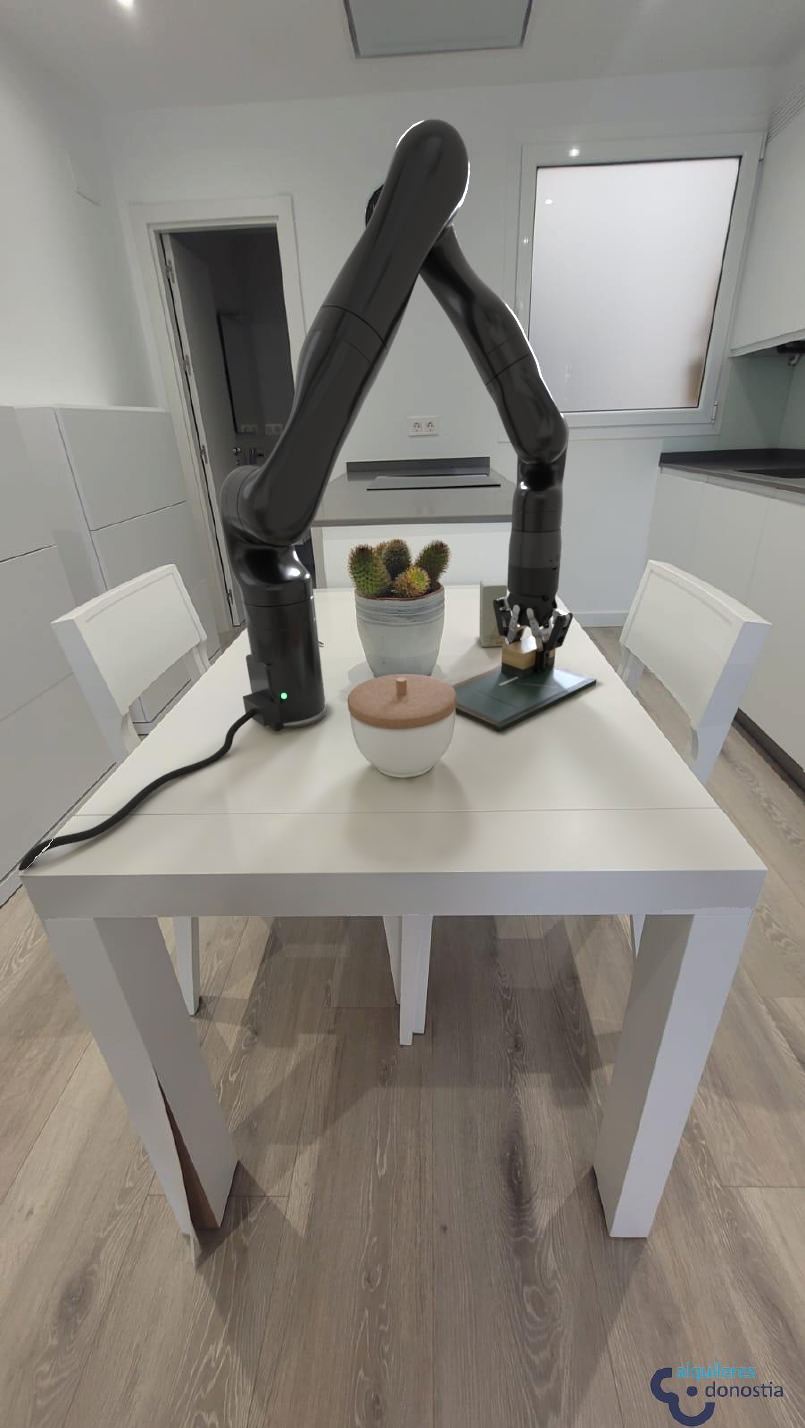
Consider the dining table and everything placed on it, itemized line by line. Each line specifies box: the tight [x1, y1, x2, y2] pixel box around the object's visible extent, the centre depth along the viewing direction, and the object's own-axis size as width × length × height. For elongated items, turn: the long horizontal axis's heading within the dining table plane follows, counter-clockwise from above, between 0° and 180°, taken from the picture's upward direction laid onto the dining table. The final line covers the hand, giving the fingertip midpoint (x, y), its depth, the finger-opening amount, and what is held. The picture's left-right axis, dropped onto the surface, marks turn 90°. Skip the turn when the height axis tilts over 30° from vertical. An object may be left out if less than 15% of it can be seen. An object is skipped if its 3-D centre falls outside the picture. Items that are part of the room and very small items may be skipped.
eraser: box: [500, 635, 557, 679], centre depth 94 cm, size 8×4×4 cm, turn 131°
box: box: [478, 578, 508, 647], centre depth 107 cm, size 5×4×11 cm
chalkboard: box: [451, 665, 598, 733], centre depth 89 cm, size 22×14×1 cm, turn 130°
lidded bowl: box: [346, 673, 457, 779], centre depth 70 cm, size 13×13×11 cm
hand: (527, 666), depth 95 cm, fingers closed on eraser, 4 cm apart
